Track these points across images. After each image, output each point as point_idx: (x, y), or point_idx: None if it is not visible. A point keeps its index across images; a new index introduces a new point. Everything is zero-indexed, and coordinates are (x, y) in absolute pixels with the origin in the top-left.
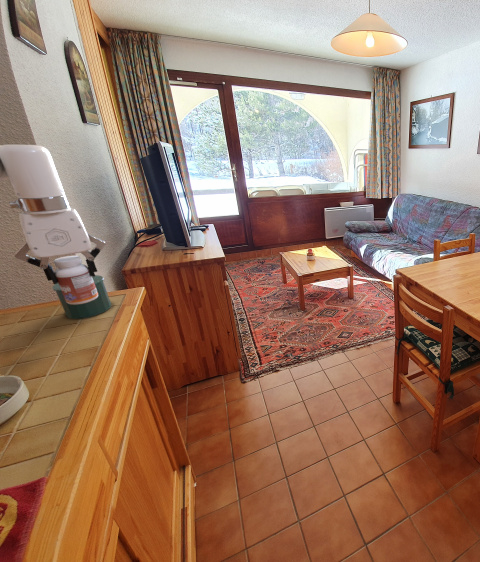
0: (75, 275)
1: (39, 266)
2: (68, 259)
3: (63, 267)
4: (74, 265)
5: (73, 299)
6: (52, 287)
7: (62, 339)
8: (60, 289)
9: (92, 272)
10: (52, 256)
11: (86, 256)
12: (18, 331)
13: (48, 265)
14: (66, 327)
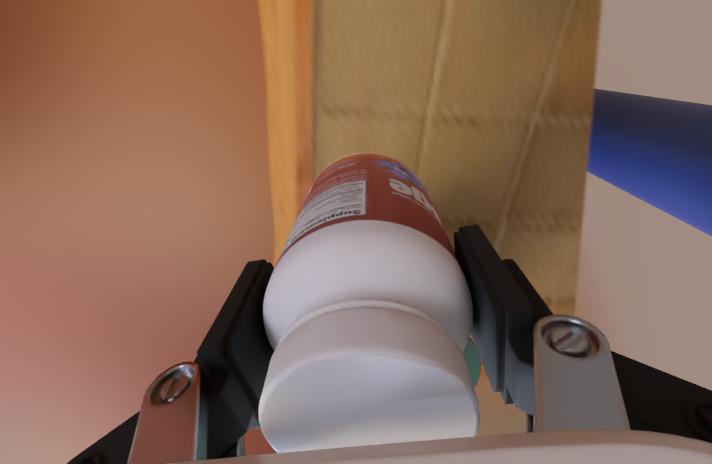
0: (331, 228)
1: (603, 354)
2: (348, 403)
3: (399, 302)
4: (311, 314)
5: (390, 161)
6: (480, 366)
7: (448, 113)
8: None
9: (246, 277)
10: (503, 438)
11: (183, 414)
12: (554, 244)
13: (524, 359)
14: (442, 203)
